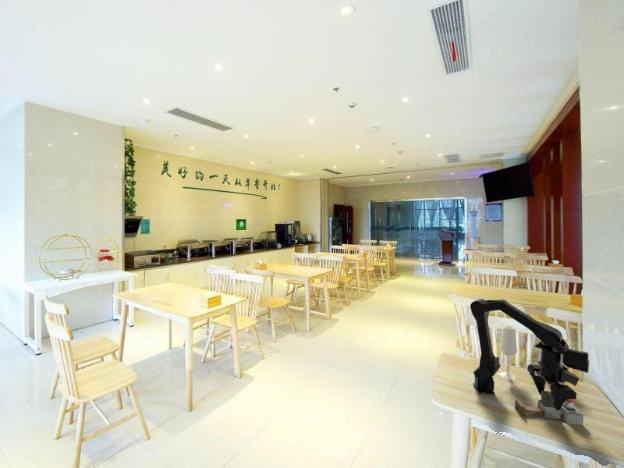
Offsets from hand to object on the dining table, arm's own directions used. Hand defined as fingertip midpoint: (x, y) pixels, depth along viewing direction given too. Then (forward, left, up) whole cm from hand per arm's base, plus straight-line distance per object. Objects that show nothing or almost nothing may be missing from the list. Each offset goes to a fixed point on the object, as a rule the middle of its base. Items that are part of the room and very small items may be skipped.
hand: (549, 402), depth 106 cm
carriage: (0, 0, -5) cm, 5 cm away
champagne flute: (-1, +28, -5) cm, 28 cm away
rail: (-3, 0, -5) cm, 6 cm away
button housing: (+7, 0, -5) cm, 8 cm away
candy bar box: (+17, +28, -5) cm, 33 cm away
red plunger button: (+6, 0, -3) cm, 7 cm away
